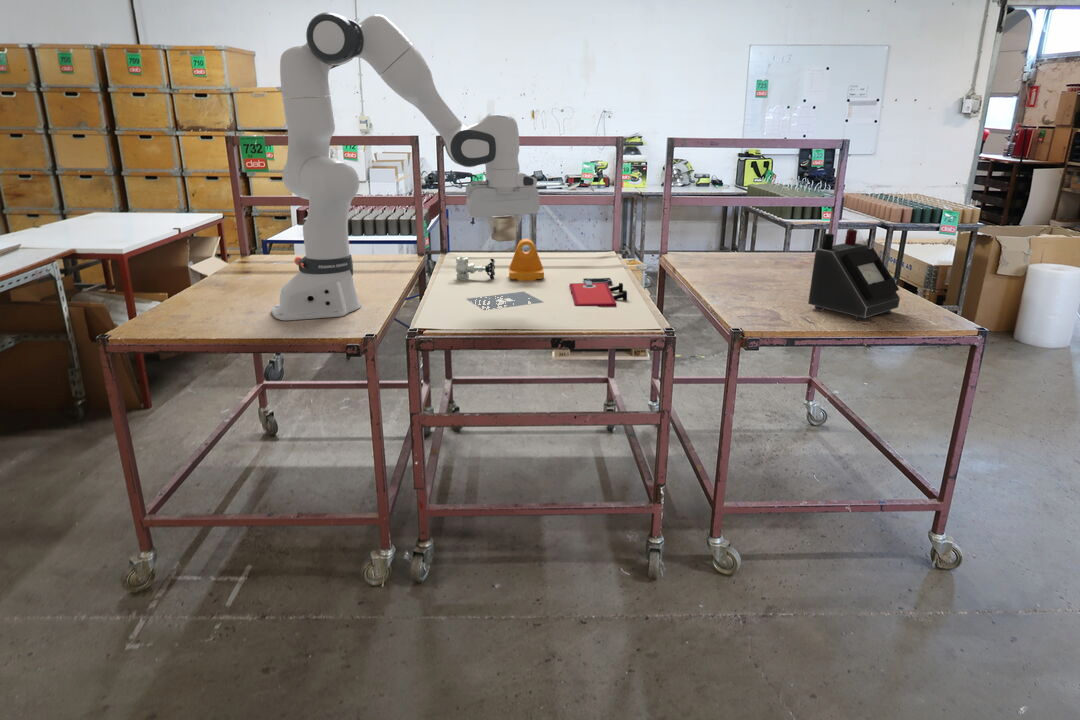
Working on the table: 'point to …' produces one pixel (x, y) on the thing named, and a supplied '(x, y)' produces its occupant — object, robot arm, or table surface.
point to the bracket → (526, 263)
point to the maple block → (504, 228)
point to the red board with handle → (596, 292)
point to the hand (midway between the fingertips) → (503, 232)
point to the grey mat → (519, 298)
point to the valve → (472, 268)
